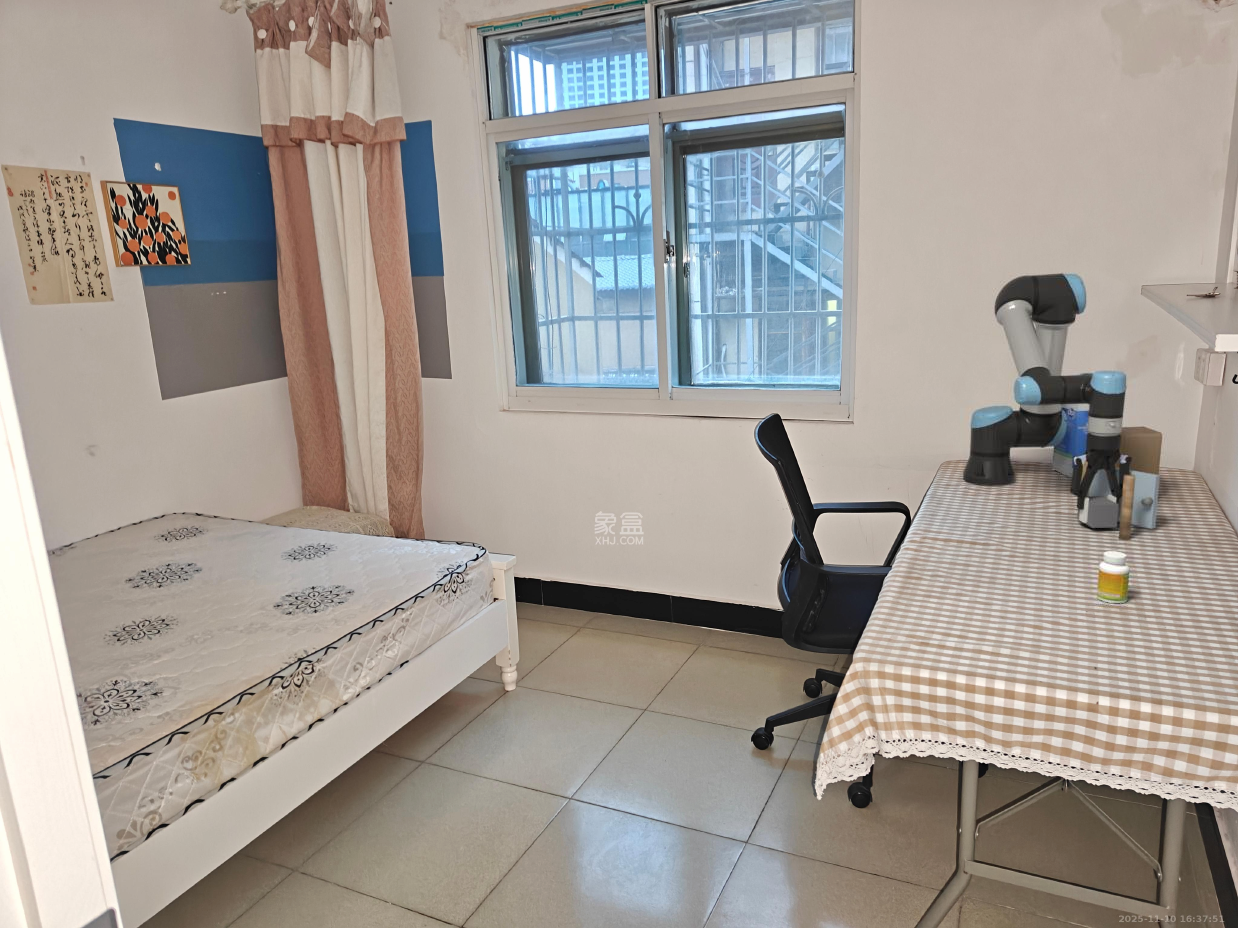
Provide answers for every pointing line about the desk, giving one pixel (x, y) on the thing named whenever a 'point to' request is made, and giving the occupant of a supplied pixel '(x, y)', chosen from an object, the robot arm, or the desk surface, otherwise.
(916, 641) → the desk surface
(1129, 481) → the door frame
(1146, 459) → the wooden block
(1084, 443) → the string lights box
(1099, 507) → the block
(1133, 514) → the door
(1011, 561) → the desk surface
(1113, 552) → the supplement bottle
